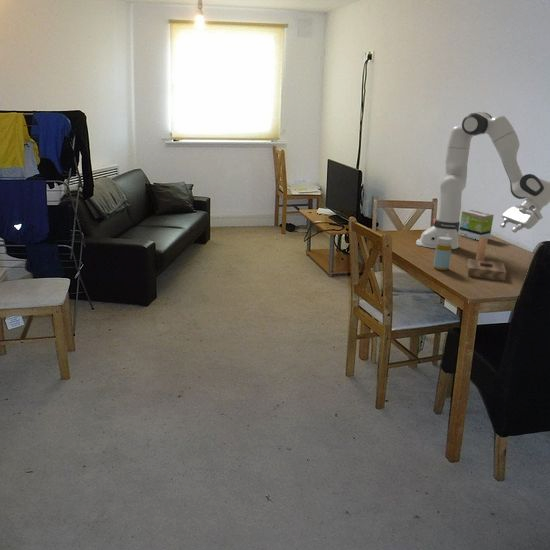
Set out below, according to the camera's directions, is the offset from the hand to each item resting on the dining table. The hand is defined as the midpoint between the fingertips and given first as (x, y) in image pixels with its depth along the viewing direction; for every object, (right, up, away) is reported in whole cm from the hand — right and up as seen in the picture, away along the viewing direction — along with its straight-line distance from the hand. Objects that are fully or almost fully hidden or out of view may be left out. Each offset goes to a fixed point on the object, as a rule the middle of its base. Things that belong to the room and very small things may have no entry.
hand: (507, 229), depth 274 cm
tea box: (+3, 0, +55) cm, 55 cm away
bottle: (-35, -20, -8) cm, 41 cm away
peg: (-13, -17, +3) cm, 21 cm away
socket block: (-15, -22, -12) cm, 29 cm away
